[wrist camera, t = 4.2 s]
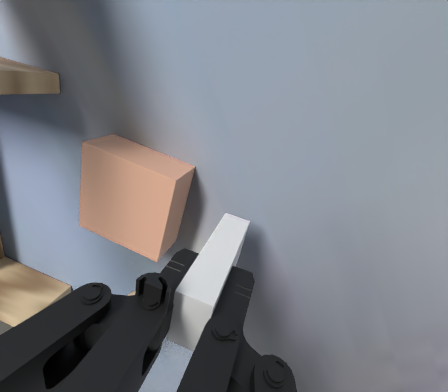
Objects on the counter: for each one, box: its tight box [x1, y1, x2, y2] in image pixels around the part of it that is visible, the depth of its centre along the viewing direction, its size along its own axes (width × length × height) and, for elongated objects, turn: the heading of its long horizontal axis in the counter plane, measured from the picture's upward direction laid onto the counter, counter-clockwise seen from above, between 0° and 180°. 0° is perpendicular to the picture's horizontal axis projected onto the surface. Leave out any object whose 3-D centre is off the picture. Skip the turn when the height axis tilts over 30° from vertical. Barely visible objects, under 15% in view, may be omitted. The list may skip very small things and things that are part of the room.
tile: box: [79, 134, 195, 262], centre depth 17 cm, size 6×6×3 cm
